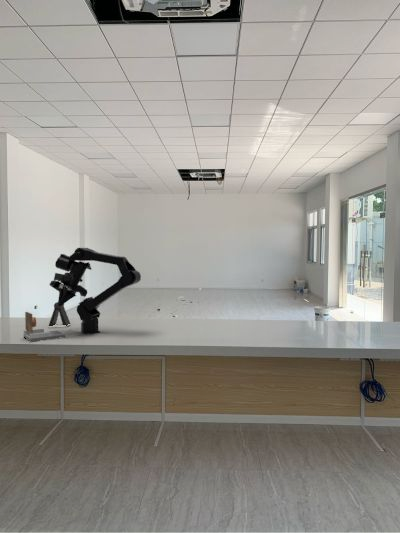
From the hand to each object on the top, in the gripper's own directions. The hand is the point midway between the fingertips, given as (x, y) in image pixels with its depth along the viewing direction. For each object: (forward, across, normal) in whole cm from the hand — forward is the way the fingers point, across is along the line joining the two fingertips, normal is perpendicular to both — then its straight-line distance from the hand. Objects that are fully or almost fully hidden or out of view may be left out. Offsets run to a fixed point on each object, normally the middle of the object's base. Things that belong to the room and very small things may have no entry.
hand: (58, 305), depth 169 cm
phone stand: (+5, -17, +20) cm, 27 cm away
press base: (+14, -2, +3) cm, 14 cm away
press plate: (+14, -4, -3) cm, 15 cm away
